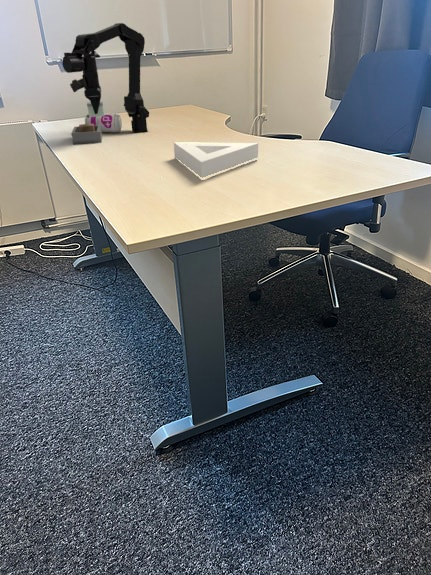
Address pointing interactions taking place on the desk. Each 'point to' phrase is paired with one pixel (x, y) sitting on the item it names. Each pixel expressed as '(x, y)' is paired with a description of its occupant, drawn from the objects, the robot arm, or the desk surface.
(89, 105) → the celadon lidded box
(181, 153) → the triangle block
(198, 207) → the desk surface
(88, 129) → the walnut block
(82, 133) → the tote
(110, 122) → the supplement can
